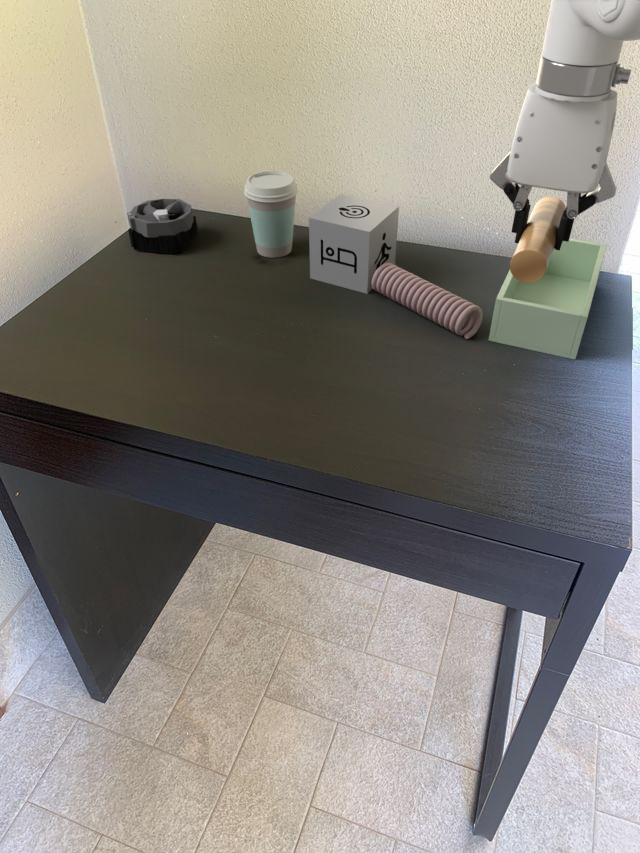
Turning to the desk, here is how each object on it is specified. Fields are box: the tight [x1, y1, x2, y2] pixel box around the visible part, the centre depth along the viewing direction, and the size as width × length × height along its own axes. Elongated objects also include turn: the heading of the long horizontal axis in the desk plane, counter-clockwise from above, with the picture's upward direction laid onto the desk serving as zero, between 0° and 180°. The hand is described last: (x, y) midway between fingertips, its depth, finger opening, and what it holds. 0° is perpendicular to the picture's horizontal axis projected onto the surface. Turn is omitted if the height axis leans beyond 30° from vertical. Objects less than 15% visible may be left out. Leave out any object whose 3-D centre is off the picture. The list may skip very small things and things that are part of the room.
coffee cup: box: [243, 169, 299, 259], centre depth 111 cm, size 9×8×12 cm
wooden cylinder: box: [509, 195, 566, 283], centre depth 82 cm, size 16×4×4 cm
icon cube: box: [308, 193, 400, 295], centre depth 105 cm, size 10×10×10 cm
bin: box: [488, 237, 608, 361], centre depth 97 cm, size 12×22×7 cm, turn 156°
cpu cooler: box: [126, 198, 199, 255], centre depth 115 cm, size 10×6×10 cm
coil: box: [372, 263, 483, 340], centre depth 98 cm, size 5×5×18 cm
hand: (539, 240), depth 82 cm, fingers closed on wooden cylinder, 4 cm apart
